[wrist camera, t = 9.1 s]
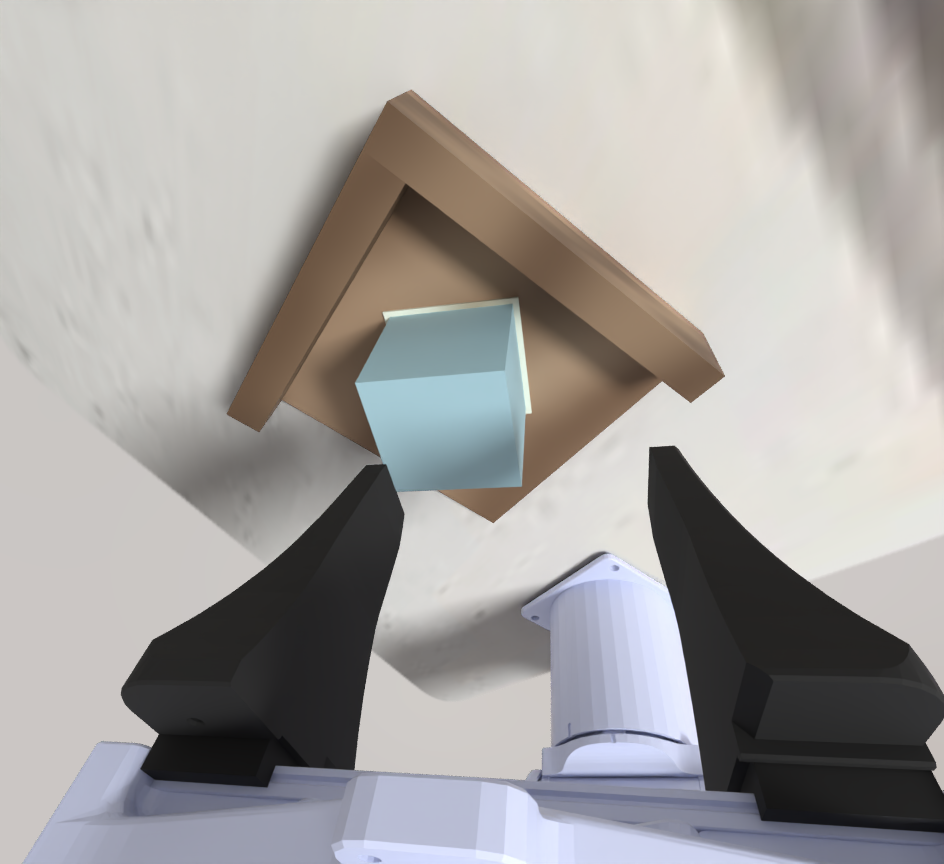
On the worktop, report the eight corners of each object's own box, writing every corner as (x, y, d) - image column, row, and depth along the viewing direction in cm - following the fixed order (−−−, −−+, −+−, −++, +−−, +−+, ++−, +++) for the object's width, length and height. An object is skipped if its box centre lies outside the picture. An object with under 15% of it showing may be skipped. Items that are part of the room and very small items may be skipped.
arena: (702, 332, 21) (725, 376, 18) (494, 512, 29) (489, 560, 26) (411, 89, 17) (387, 101, 14) (259, 373, 25) (226, 414, 22)
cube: (512, 303, 20) (504, 370, 16) (525, 408, 23) (522, 486, 19) (390, 316, 21) (354, 383, 17) (417, 416, 24) (393, 492, 20)
